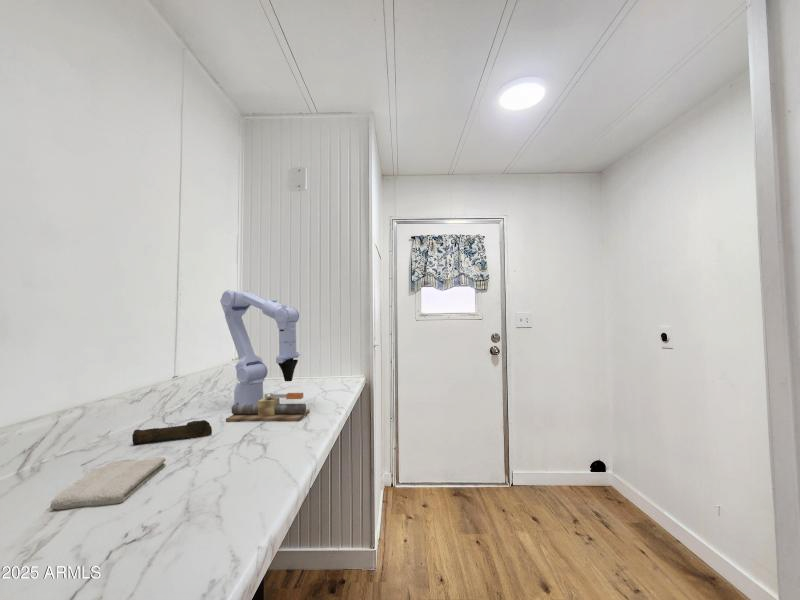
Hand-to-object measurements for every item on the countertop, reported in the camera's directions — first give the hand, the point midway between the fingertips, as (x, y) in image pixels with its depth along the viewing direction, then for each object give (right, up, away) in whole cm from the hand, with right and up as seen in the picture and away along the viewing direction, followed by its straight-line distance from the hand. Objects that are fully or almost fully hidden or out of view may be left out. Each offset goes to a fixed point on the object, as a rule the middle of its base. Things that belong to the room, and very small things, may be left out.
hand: (288, 381), depth 127 cm
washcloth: (-19, -10, -53) cm, 57 cm away
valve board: (-4, -10, -7) cm, 13 cm away
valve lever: (+1, -4, -7) cm, 8 cm away
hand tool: (-24, -11, -26) cm, 37 cm away
